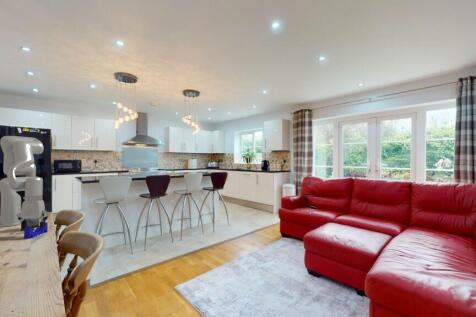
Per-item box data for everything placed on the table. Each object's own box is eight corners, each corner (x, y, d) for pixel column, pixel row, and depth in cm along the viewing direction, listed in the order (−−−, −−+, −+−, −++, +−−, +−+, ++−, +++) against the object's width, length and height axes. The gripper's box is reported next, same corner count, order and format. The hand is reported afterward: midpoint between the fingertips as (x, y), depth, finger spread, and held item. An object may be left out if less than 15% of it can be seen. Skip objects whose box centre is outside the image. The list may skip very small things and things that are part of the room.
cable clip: (39, 232, 135) (40, 222, 135) (47, 232, 135) (47, 222, 135) (21, 239, 123) (21, 228, 123) (29, 239, 123) (29, 228, 123)
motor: (20, 228, 140) (20, 211, 141) (39, 226, 147) (39, 209, 147) (21, 232, 134) (21, 214, 134) (40, 229, 141) (41, 211, 141)
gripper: (11, 200, 125) (10, 230, 124) (45, 199, 127) (44, 229, 126) (22, 198, 132) (22, 226, 132) (54, 197, 134) (54, 225, 134)
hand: (33, 228), depth 129 cm, fingers open, 9 cm apart
